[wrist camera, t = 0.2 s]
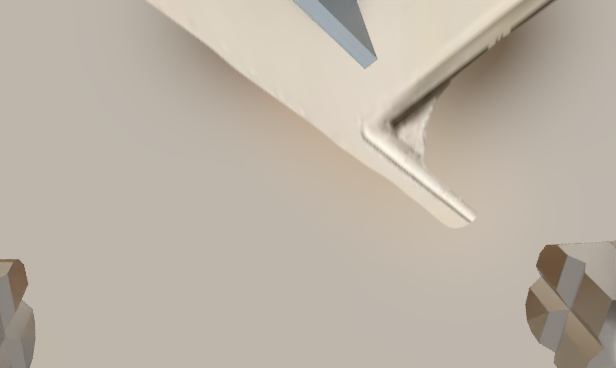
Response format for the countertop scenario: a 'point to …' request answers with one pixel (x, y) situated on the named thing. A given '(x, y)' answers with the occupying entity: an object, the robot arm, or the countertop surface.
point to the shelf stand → (342, 26)
